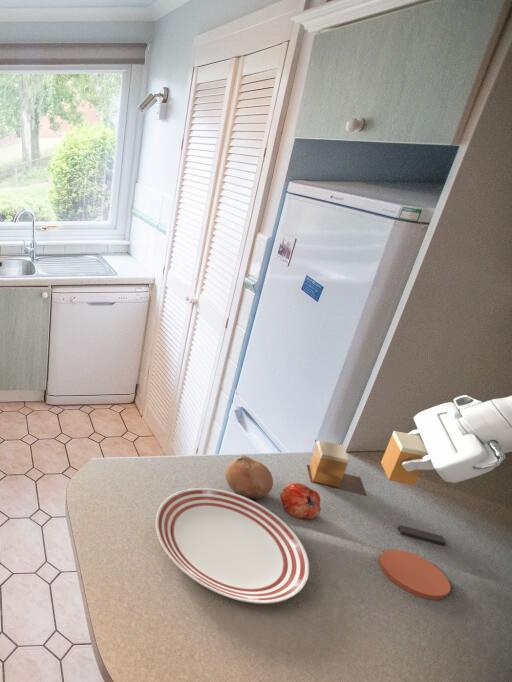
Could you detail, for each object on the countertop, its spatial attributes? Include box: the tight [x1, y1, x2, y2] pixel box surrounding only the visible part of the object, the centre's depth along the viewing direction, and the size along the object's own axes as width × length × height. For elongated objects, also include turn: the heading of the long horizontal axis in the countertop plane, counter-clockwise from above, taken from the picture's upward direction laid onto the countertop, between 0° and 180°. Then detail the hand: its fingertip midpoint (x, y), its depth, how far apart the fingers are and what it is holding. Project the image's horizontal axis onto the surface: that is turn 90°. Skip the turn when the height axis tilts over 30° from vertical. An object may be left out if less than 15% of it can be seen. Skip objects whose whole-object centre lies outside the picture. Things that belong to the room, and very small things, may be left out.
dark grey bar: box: [397, 524, 447, 547], centre depth 95 cm, size 20×2×2 cm, turn 65°
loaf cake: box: [306, 439, 368, 497], centre depth 106 cm, size 11×7×9 cm, turn 65°
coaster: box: [378, 548, 451, 600], centre depth 85 cm, size 10×10×1 cm
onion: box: [225, 454, 274, 501], centre depth 103 cm, size 10×9×10 cm
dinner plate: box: [155, 487, 310, 605], centre depth 90 cm, size 28×27×3 cm
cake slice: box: [380, 430, 429, 486], centre depth 90 cm, size 4×6×8 cm, turn 154°
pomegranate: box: [279, 482, 322, 520], centre depth 98 cm, size 7×7×10 cm
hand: (400, 455), depth 90 cm, fingers closed on cake slice, 6 cm apart
